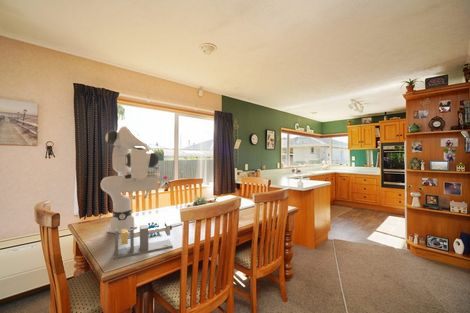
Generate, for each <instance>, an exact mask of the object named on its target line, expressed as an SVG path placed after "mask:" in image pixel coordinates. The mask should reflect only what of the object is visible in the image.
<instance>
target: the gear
mask: <svg viewBox="0 0 470 313" xmlns="http://www.w3.org/2000/svg"><path fill="white" fill-rule="evenodd" d="M147 226H148V229H152V228H158V227H160V225H159V224H158V223H157V222H156V223H154V222H149V223H147ZM159 233H160V232H156V233H150V234H148V237H150V238H152V237H156V235H158V234H159Z"/></svg>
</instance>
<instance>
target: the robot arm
mask: <svg viewBox="0 0 470 313" xmlns="http://www.w3.org/2000/svg"><path fill="white" fill-rule="evenodd" d="M104 139H105V142H106V143H107V145H109V146H114V147H113V148H112V149H113V150H112V156H111V157H112V158H111V160H112V162H111V163H112V169H113V170H114V171H115V172H116V173H118V174H120V175H110V176H106V177H103V178H102V180H101V181H100V188H101V190H102V191H103V192H105V193H106V194H108V196H110V198H111V200H112V205H113V207H112V208H113V210H112V218H111V219H110V221H109V222H110V223H109V224H110V225H109V228H108V229H107V231H106V232H107V233H112V234H115V228H117V227H118V234H121V229H126V228H127V232H130V226H133V229H137V228H138V226H137V225H136V224H135V217H134V215H132V214H133V213H132V212H133V210H132V205H131V204H132V201H131V198H132V200H136V195H134V194H133V193H134V192H141V191H142V192H143V191H145V192H146V193H145V194H143V199H147V198H148V197H147V196H148V194H149V192H150V191H155V190H158V189H159V183H158V182H159V175H158V174H156V173H152V174H151V173H149V172H148V170H149V169H150V168H151V169H154V168H156V166H157V165H158V164H159V156H158V154H157V153H156V152H155V151H153V150H152V147H150V146H149V144H148V143H147V142H146V141H145V140H143V139H142V138H140V137H139V135H138V134H137V133H136V132H135V131H134V129H133V128H132V127H130V126H128V125H125V126H122V127H120V128H119V130H109V131H107V133H106V134H105V138H104ZM129 150H131V151H130V152H129ZM148 168H149V169H148ZM123 193H129V195H131V196H132V197H129V196H127V195H125V194H123Z"/></svg>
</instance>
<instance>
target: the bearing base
mask: <svg viewBox="0 0 470 313" xmlns="http://www.w3.org/2000/svg"><path fill="white" fill-rule="evenodd" d="M148 227H149V225H148V224H143V225H139V231H140V235H139V244H138V245H134V244H135V241H134V240H135V239H134V237H135V236H134V229H133V226H130V231H129V232H130V234H131V237H129V240H130V242H129V243H130V244H129V245H130V246H127V247H123V248H119V233H118V227H117V228H115V233H114V251H113V260H118V259H122V258H128V257H134V256H137V255H143V254H146V253H152V252H156V251H157V252H158V251H162V250H166V249H170V248H174V247H173V243H172V242H171V240H170V239H164V240H158V241H155V242H149V236H148Z"/></svg>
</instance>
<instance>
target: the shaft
mask: <svg viewBox="0 0 470 313" xmlns="http://www.w3.org/2000/svg"><path fill="white" fill-rule="evenodd" d="M171 230H173V226H172V225H171V224H170V222H169V221H168V220H167V221H164V226H161V227H160V226H159V227H156V228H152V229H148V234H149V235H151V234H150V233H153V234H154V233H155V234H157V232H159V233H160V232H161V233H162V232H165V234H166V236H168V237H169V236H171ZM127 235H128V238H130V237H131V234H130V231H128V232H127ZM137 236H140V230H135V231H134V237H137ZM118 240H121V233H118Z"/></svg>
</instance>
